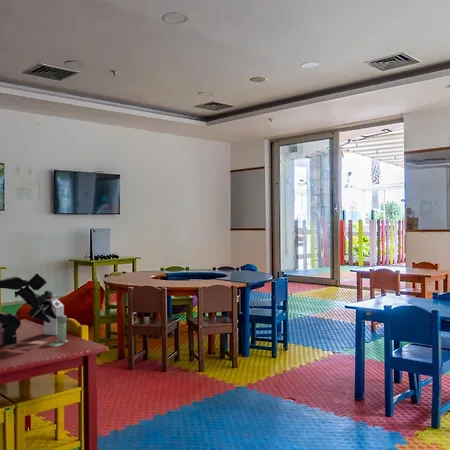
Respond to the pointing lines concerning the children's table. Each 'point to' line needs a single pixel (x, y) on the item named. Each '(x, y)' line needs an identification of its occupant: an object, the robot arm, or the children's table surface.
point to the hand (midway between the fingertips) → (53, 320)
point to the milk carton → (52, 326)
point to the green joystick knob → (61, 328)
